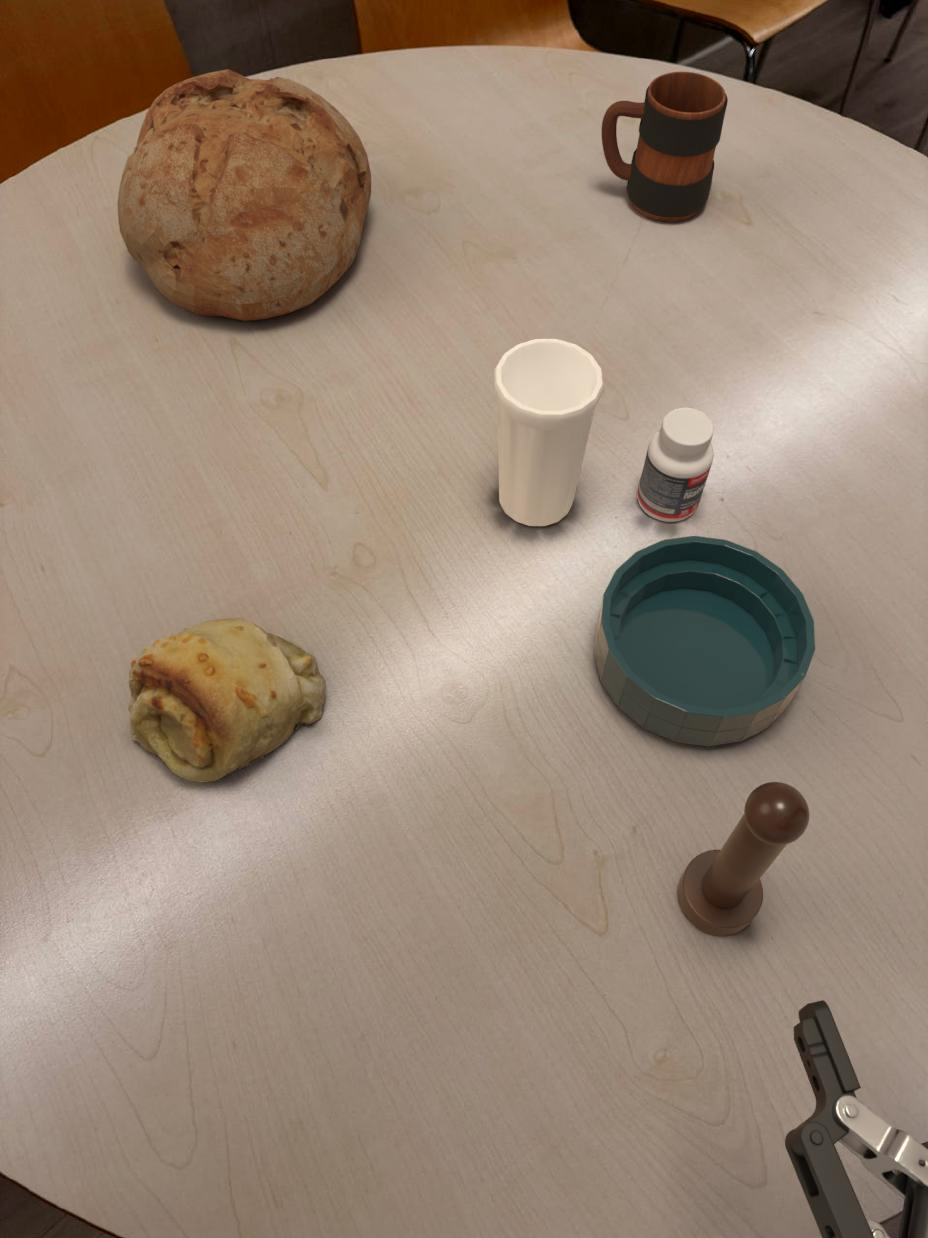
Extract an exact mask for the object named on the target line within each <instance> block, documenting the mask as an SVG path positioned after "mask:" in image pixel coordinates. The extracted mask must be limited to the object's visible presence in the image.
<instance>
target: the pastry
mask: <svg viewBox="0 0 928 1238" xmlns="http://www.w3.org/2000/svg"><path fill="white" fill-rule="evenodd" d="M128 688H129V691H130V701H129V704H128V712H129V721H130V726H129V728H130V731H131V739H132V740H133V741H134V742H138V743H139V744H140V745H141V746H142V747H143V748H144V750H146V751H148V752H149V753H151V754H152V755H153V756H157V757H158V758H159V759H161V760H162V763H163V764H164V765H165V766H166V767H167V768H168V769H169V770H170V771H171V772H172V773H174V774H175V775H177V776H179V777H180V778H183V779H185V780H187V781H191V782H198V783H207V782H213V781H217V780H220V779H222V778H224V777H225V776H227V775H228V774H230V773H232V772H234V771H239V770H241V769H243V768H245V767H249V766H251V765H252V764H253V763H256V762H257V761H261V759H263V758H265V757H266V756H267V754H268V753H270V752H272V751H275V750H276V749H277V748H279V747H280V746H281V745H282V744H283V743H285V742H286V741H287V740H288V739H289V737H290V736H291V735H292V733H293V732H295V733H297V729H298V728H299V726H300V725H303V726H307V727H308V726H312V724H313V723H316V722H317V721H319V720H320V719H321V717H322V715H323V711H324V710H323V707H324V705H325V697H326V691H327V682H326V679H325V677H324V676H323V675H322V674H321V672H320V669H319V667H318V661H317V658H316V657H315V656H314V655H313V654H311V653H309V652H307V651H305V649H303V648H302V647H300V646H298V645H296V644H294V643H293V642H291V641H288V640H286V639H284V638H282V637H280V636H278V635H275V634H273V633H269V632H266V630H264V629H263V628H262V627H261V626H259V625H257V624H256V623H254V622H253V621H250V620H247V619H244V618H243V617H234V618H232V617H231V618H219V619H212V620H207V621H204V622H201V623H197V624H195V625H193V626H190V627H186V628H184V629H182V630H181V631H180V632H178V633H175V634H171V635H168V636H165V637H162V638H160V639H157V640H155V641H154V642H153V643H152V644H151V645H149V646H148V647H146V648H144V649H143V651H142V652H141V653H140V654H139V655H138V656H136V657H135V658H134V659H132V660H131V662H130V668H129V674H128Z"/></svg>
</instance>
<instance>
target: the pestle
mask: <svg viewBox="0 0 928 1238" xmlns="http://www.w3.org/2000/svg"><path fill="white" fill-rule="evenodd" d="M743 811H744V812H743V815H742V816H741V818H740V819H739V820H738V823H737V824H736V826H735V827H734V829H733V830H732V832H731V833H730V835H729V836H728V838H727V839H726V841H725V843H724V844H723V845H722V847H721V849H710V850H707V851H704V852H701V853H699V854H698V855H696V856H695V857H693V858H692V860H691V861H690V862H689V863H688V864H687V866H686V868H685V870H684V871H683V873H682V875H681V877H680V879H679V882H678V886H677V898H678V899H677V900H678V903H679V906H680V909H681V911H682V914H683V915H684V916H685V918H686V919H687V920H688V921H689V922H690V924H692V925H693V926H694V927H695V928H697V929H698V930H700V931H702V932H704V933H706V934H709V935H712V936H716V937H717V936H720V937H726V936H733V935H736V934H737V933H739V932H742V931H743V930H744V929H745V928H746V927H748V926H749V924H750V923H751V922H752V921H753V920H754V919H755V917H756V916H757V915H758V913H759V912H760V910H761V907H762V904H763V901H764V889H763V883H762V880H761V878H762V876H764V874H765V873H766V872H767V870H769V868H770V867H771V866H772V864H773V863H774V862H775V861H776V859H777V857H778V856H779V855H780V854H781V853H782V851H783V850H784V849H785V848H786V847H787V845H790V844H791V843H795V842H796V841H798V840H799V838H801V837H802V836H803V834H804V833H805V832H806V830H807V828H808V825H809V821H810V808H809V805H808V803H807V800H806V799H805V797H804V795H803V794H802V792H800V791H799V790H798V789H797V788H795V787H794V786H792V785H790V784H789V783H784V782H780V781H769V782H765V783H763V784H760V785H759V786H757V787H755V789H753V790H752V791H751V792H750V794H749V795H748V797H747V798H746V801H745V804H744V810H743Z"/></svg>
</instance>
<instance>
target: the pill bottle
mask: <svg viewBox="0 0 928 1238" xmlns="http://www.w3.org/2000/svg"><path fill="white" fill-rule="evenodd" d="M714 431H715V430H714V423H713V421H712V420H711V418H710V417H709V416H708V415H707V414H706V413H704V412H702V411H701V410H699V409H696V408H692V407H678V408H675V409H672V410H670V411H669V412H668V413H666V414H665V415H664V417H663V419H662V423H661V426H660V429H658V431H656V432H655V433H654V434H653V436H651V439H650V440H649V442H648V443H649V444H648V446H647V450H646V455H645V458H644V459H645V460H644V463H643V467H642V470H641V475H640V479H639V482H638V485H637V490H636V498H637V502H638V504H639V507H640V508H641V509H642V511H644V512H645V513H646V514H647V515H648V516H649V517H651V518H653V519H655V520H658V521H662V522H665V523H667V522H668V523H675V522H681V521H683V520H686V519H688V518H690V517H691V516H692V515H694V513H696V511H697V509H698V506H699V504H700V502H701V498H702V495H703V493H704V490H705V486H706V483H707V480H708V477H709V473H710V472H711V471H710V470H711V468H712V465H713V461H714V456H715V451H714V446H713V444H712V440H713V436H714Z"/></svg>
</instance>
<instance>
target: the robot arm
mask: <svg viewBox="0 0 928 1238" xmlns="http://www.w3.org/2000/svg"><path fill="white" fill-rule="evenodd" d="M798 1019H799V1022H797V1024H795V1025H794V1026H793V1041H794V1044H795V1046H796V1049H797V1052H798V1055H799V1058H800V1060H801V1062H802V1065H803V1068H804V1070H805V1073H806V1077H807V1078H808V1082H809V1084H810V1087H811V1090H812V1092H813V1095H814V1098H815V1109H814V1111H813V1113H812V1114H811V1116H809V1117H808V1118H807V1119H805V1120H804V1121H803V1122H802V1123H800V1124H799V1125H798V1126H797V1127H795V1128H794V1129H793V1128H792V1129H791V1130H790V1131H788V1133H787V1134H786V1136H785V1138H784V1146H785V1149H786V1152H787V1154H788V1157H789V1159H790V1162H791V1164H792V1167H793V1169H794V1171H795V1174H796V1176H797V1179H798V1181H799V1184H800V1186H801V1189H802V1191H803V1193H804V1196H805V1199H806V1201H807V1204H808V1206H809V1208H810V1211H811V1213H812V1216H813V1219H814V1221H815V1223H816V1227H817V1229H818V1230H819V1233H820V1235H821V1238H891V1236H890V1235H889V1234H888V1233H887V1231H886V1229H885V1228H884V1226H883V1225H882V1224H881V1223H879V1222H878V1221H877V1220H874V1219H871V1218H870V1219H867V1217H866V1215H865V1212H864V1210H863V1208H862V1206H861V1203H860V1200H859V1198H858V1197H857V1194H856V1192H855V1189H854V1186H853V1185H852V1182H851V1180H850V1178H849V1175H848V1173H847V1171H846V1168H845V1166H844V1163H843V1161H842V1159H841V1157H840V1155H839V1152H838V1150H837V1147H836V1145H835V1144H837V1143H840V1145H842V1146H843V1147H844V1148H846V1149H847V1150H848V1151H849V1152H851V1153H852V1154H853V1155H854V1156H856V1158H858V1160H859V1161H860V1163H861V1165H862V1166H863V1168H865V1169H866V1170H867V1171H869V1172H870V1173H871V1174H872V1175H874V1177H876V1178H877V1179H878V1180H879V1181H881V1182H882V1183H883V1184H884V1185H886V1187H888V1188H889V1189H890V1190H892V1191H893V1192H894V1193H895V1194H896V1195H898V1196H899V1197H900V1198H901V1199H902V1200H903V1205H902V1212H901V1219H900V1223H899V1228H898V1235H897V1238H928V1141H924V1142H920V1141H918V1140H917V1139H916V1138H914V1137H913V1136H912V1135H910V1134H909V1133H908V1132H906V1131H904V1130H902V1129H899V1128H896V1127H894V1126H893V1125H892V1124H891V1123H889V1122H888V1121H886V1120H885V1119H884V1118H882V1117H881V1116H880V1115H878V1114H877V1113H876V1112H875V1111H873V1110H872V1109H871V1108H870V1107H869V1106H867V1105H866V1104H865V1103H864V1102H862V1101H861V1100H860V1099H859V1098H858V1097H857V1094H856V1091H858V1090H860V1089H862V1087H861V1083H860V1081H859V1079H858V1076H857V1074H856V1071H855V1069H854V1067H853V1064H852V1062H851V1059H850V1056H849V1053H848V1052H847V1049H846V1047H845V1043H844V1041H843V1039H842V1036H841V1034H840V1030H839V1028H838V1026H837V1023H836V1021H835V1019H834V1016H833V1013H832V1010H831V1008H830V1006H829V1004H828V1003H827V1002H826V1000H824V999H821V1000H817V1001H814V1002H809V1003H807V1004H806V1005H804V1006H803V1007H801V1008H800V1009H799V1010H798Z"/></svg>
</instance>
